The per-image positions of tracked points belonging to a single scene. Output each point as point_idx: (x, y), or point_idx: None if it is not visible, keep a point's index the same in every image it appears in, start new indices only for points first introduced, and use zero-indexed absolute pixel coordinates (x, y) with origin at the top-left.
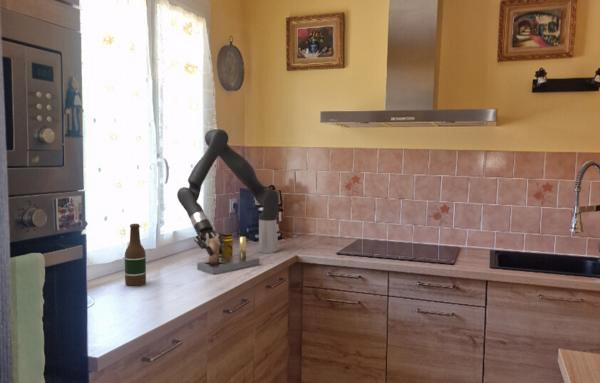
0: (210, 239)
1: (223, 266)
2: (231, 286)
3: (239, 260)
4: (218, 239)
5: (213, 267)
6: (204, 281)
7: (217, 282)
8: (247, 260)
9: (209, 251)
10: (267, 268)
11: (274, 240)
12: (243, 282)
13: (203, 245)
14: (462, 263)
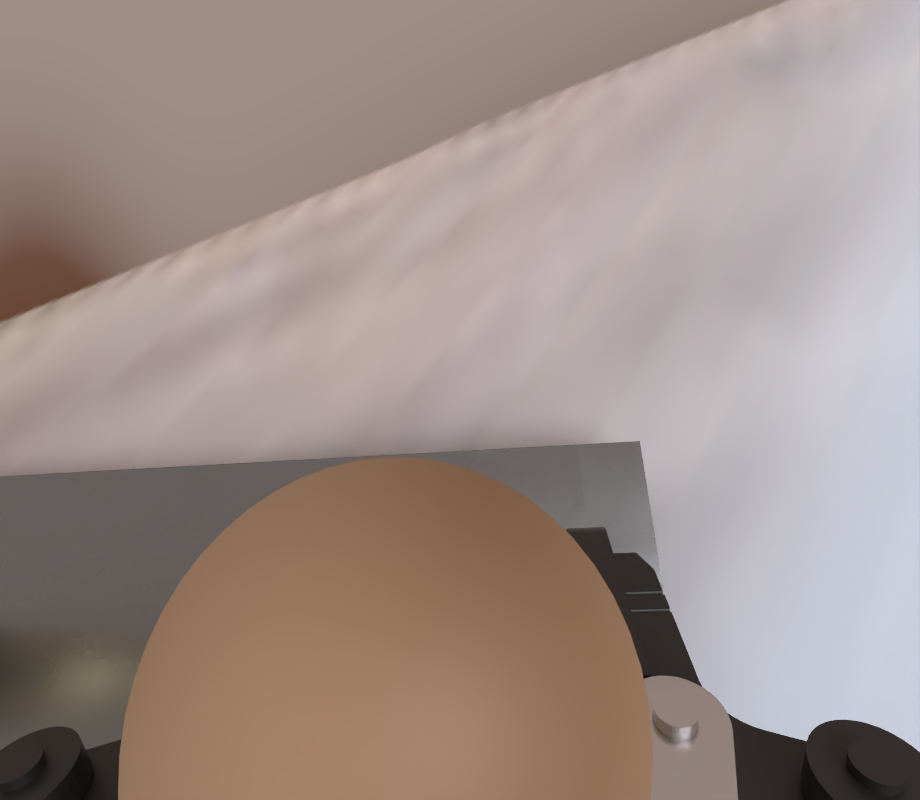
0: (604, 744)
1: (453, 455)
2: (674, 69)
3: (79, 571)
4: (296, 486)
5: (626, 446)
6: (834, 292)
7: (725, 202)
8: (18, 497)
9: (657, 585)
10: (28, 334)
11: None
12: (528, 105)
13: (909, 748)
14: None
